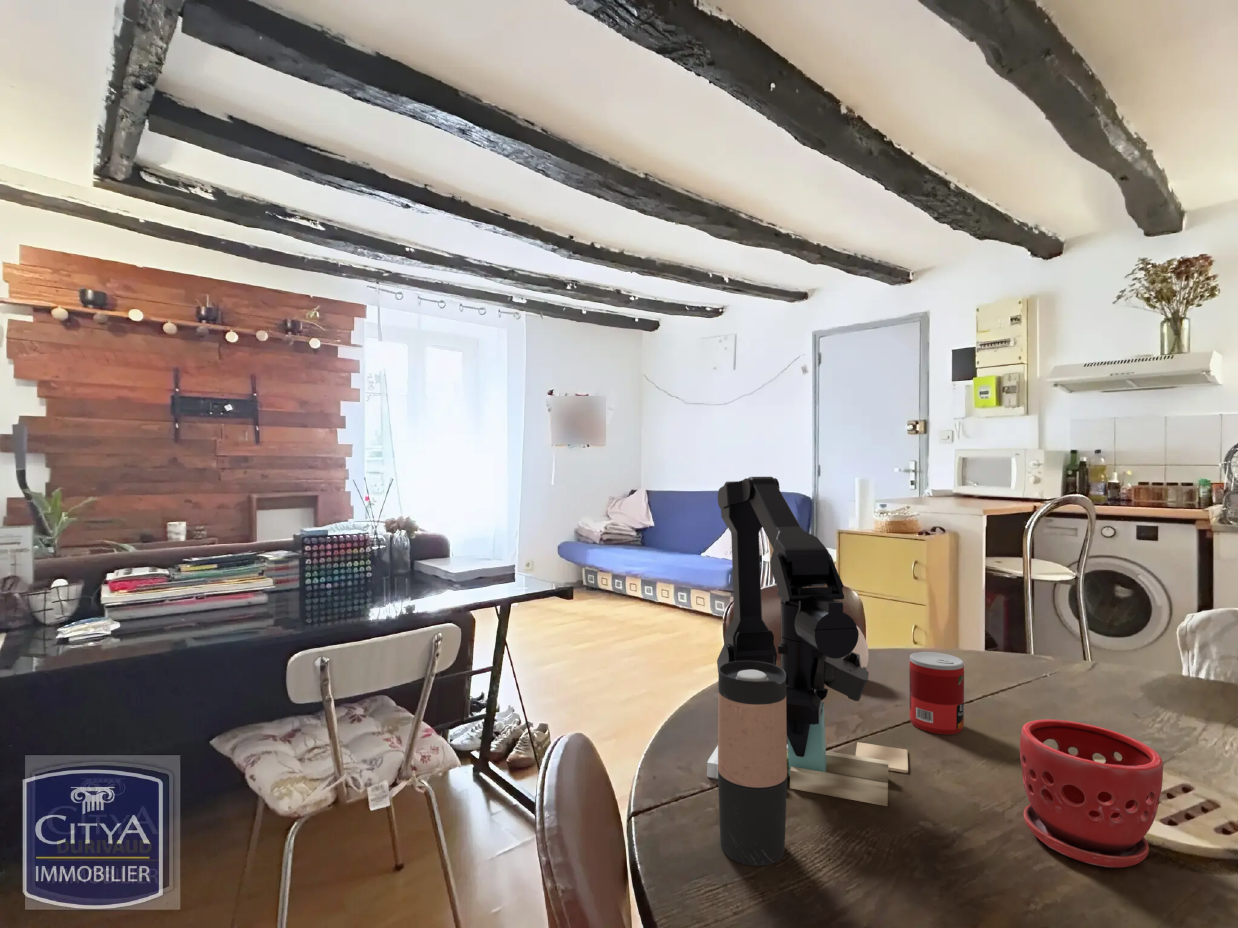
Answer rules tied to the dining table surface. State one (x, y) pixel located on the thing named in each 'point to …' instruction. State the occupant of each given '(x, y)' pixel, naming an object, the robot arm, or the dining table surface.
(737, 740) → the travel mug
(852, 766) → the slot rails
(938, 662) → the canned food
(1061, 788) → the plant pot
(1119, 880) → the dining table surface
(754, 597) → the robot arm
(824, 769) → the block
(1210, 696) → the dining table surface
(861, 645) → the egg
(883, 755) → the cork pad
